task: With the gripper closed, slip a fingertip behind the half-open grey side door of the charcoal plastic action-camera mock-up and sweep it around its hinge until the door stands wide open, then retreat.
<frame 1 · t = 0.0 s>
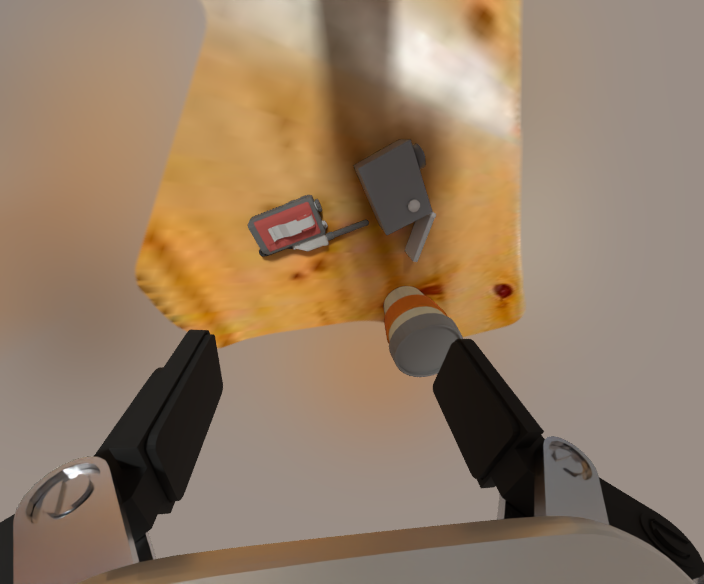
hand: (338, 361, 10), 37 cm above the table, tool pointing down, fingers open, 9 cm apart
reusable coffee cup: (403, 303, 56), on the table
camera body: (388, 186, 42), on the table
walkie-talkie: (308, 221, 45), on the table
side door: (420, 234, 45), point 3 cm above the table, hinge at 50.0°
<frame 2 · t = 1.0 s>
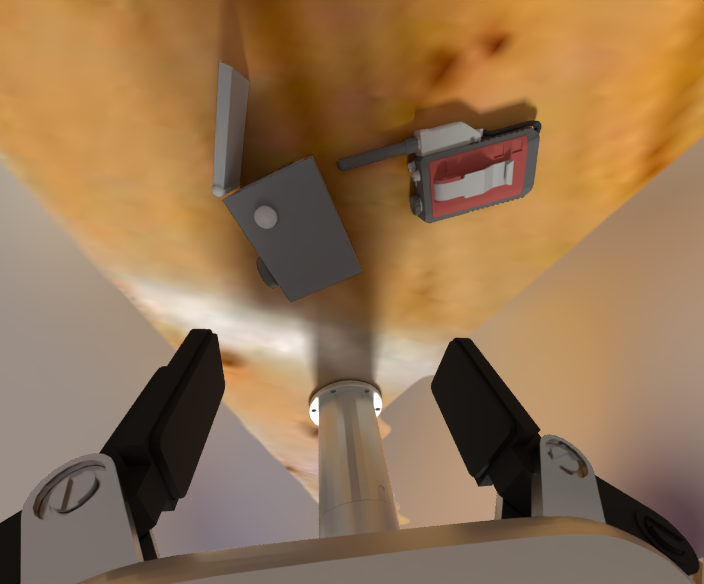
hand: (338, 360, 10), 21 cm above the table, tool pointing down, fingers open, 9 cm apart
camera body: (302, 223, 28), on the table
walkie-talkie: (434, 173, 27), on the table
side door: (228, 136, 21), point 3 cm above the table, hinge at 50.0°
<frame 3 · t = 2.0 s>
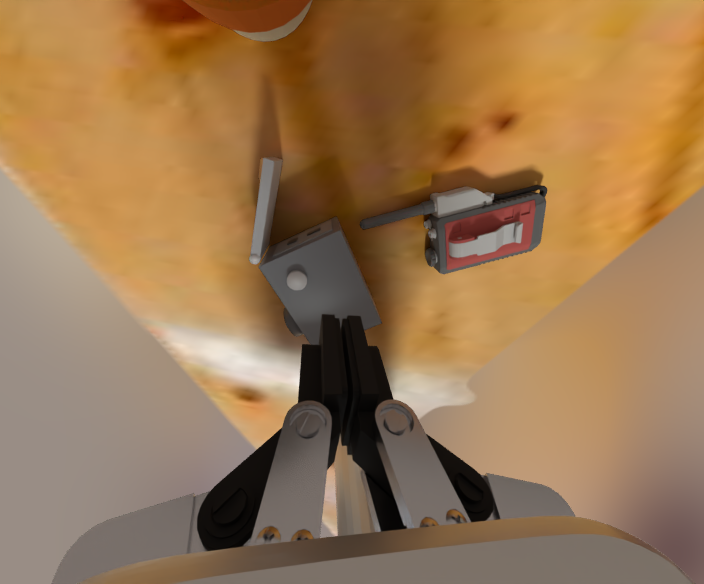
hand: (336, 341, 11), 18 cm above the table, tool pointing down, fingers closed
camera body: (324, 274, 30), on the table
walkie-talkie: (447, 227, 29), on the table
side door: (263, 209, 23), point 3 cm above the table, hinge at 50.0°
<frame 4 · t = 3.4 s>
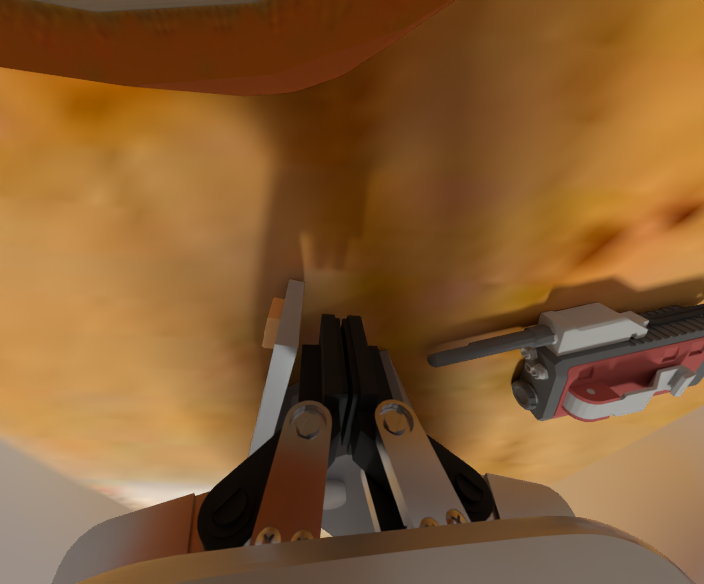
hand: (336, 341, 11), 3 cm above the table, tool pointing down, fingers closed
camera body: (359, 415, 20), on the table
walkie-talkie: (549, 347, 19), on the table
side door: (271, 375, 13), point 3 cm above the table, hinge at 50.0°, touching gripper
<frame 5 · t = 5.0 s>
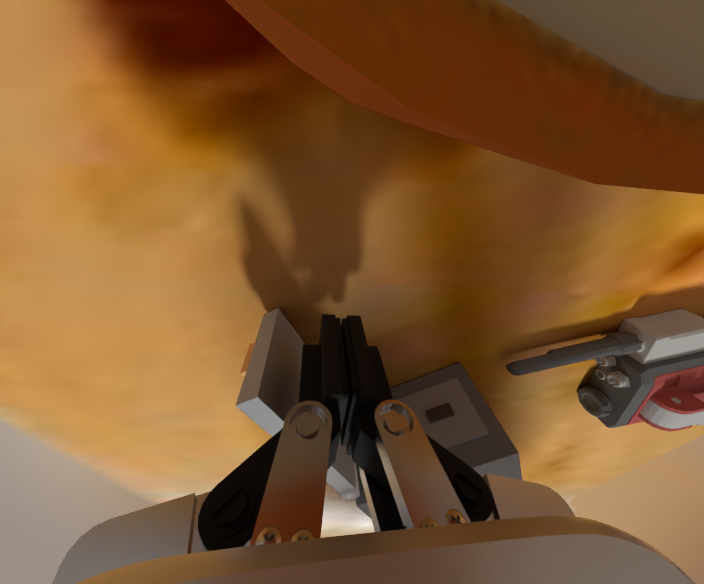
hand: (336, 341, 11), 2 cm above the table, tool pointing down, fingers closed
camera body: (422, 425, 19), on the table
walkie-talkie: (619, 353, 19), on the table
side door: (308, 406, 12), point 3 cm above the table, hinge at 90.4°, touching gripper
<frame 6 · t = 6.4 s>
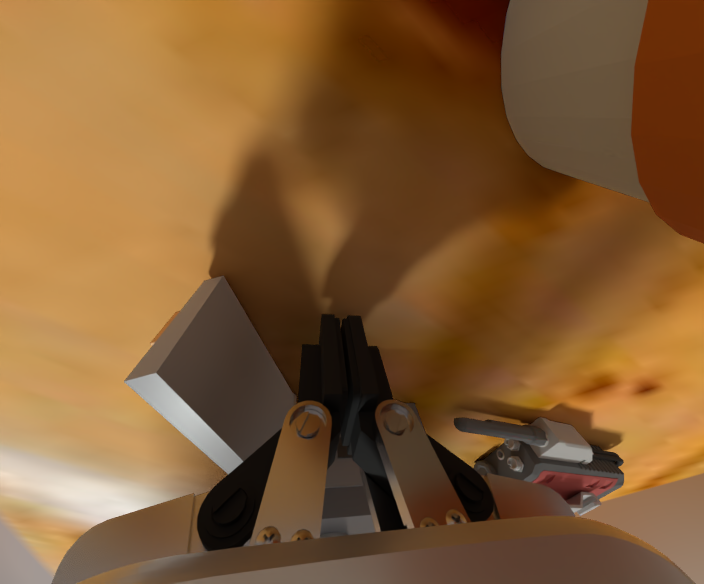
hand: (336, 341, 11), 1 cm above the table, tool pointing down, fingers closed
reusable coffee cup: (637, 16, 8), on the table
camera body: (342, 451, 18), on the table
walkie-talkie: (514, 442, 22), on the table
side door: (242, 397, 10), point 3 cm above the table, hinge at 112.7°
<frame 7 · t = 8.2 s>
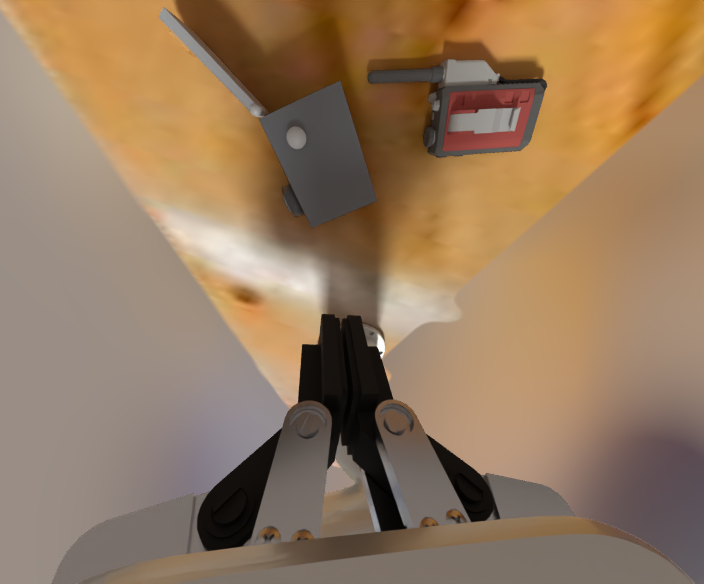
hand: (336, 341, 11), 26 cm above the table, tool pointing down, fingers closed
camera body: (322, 158, 30), on the table
walkie-talkie: (449, 112, 30), on the table
side door: (222, 75, 23), point 3 cm above the table, hinge at 112.8°
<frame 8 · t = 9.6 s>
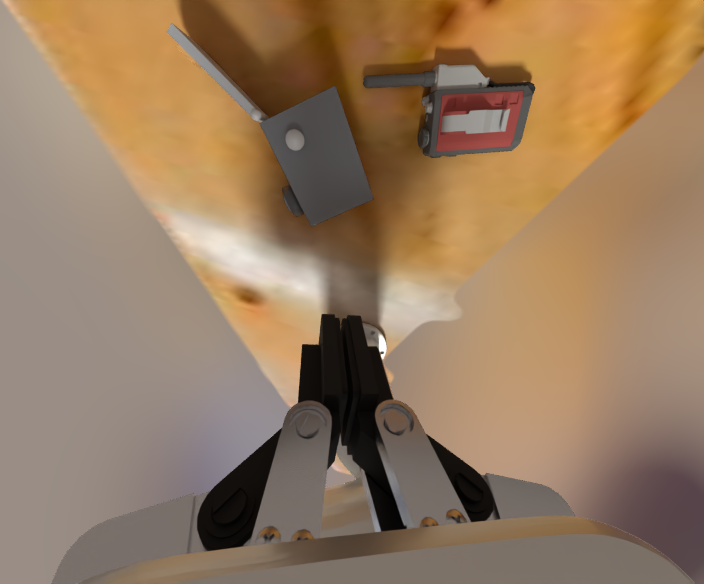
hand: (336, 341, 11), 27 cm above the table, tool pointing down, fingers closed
camera body: (321, 160, 31), on the table
walkie-talkie: (442, 115, 31), on the table
side door: (225, 84, 25), point 3 cm above the table, hinge at 112.8°
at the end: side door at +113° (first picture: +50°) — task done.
